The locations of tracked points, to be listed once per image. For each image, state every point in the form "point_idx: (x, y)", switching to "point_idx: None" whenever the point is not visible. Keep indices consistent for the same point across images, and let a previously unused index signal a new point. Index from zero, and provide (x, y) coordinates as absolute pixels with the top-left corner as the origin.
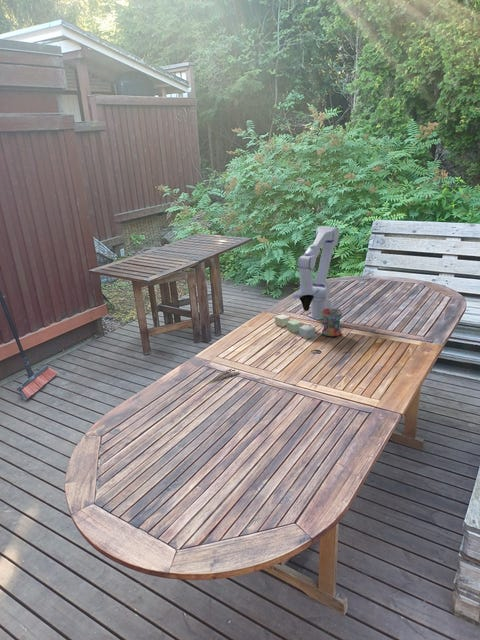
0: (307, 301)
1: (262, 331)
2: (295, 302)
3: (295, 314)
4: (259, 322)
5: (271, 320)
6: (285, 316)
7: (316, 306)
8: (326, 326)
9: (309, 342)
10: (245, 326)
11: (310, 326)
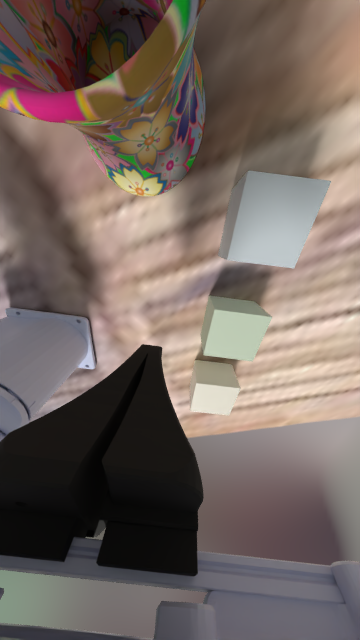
0: (149, 412)
1: (302, 379)
2: None
3: None
4: (241, 418)
5: None
6: (204, 394)
7: (41, 367)
8: (192, 63)
9: (337, 134)
10: (289, 424)
11: (242, 222)
